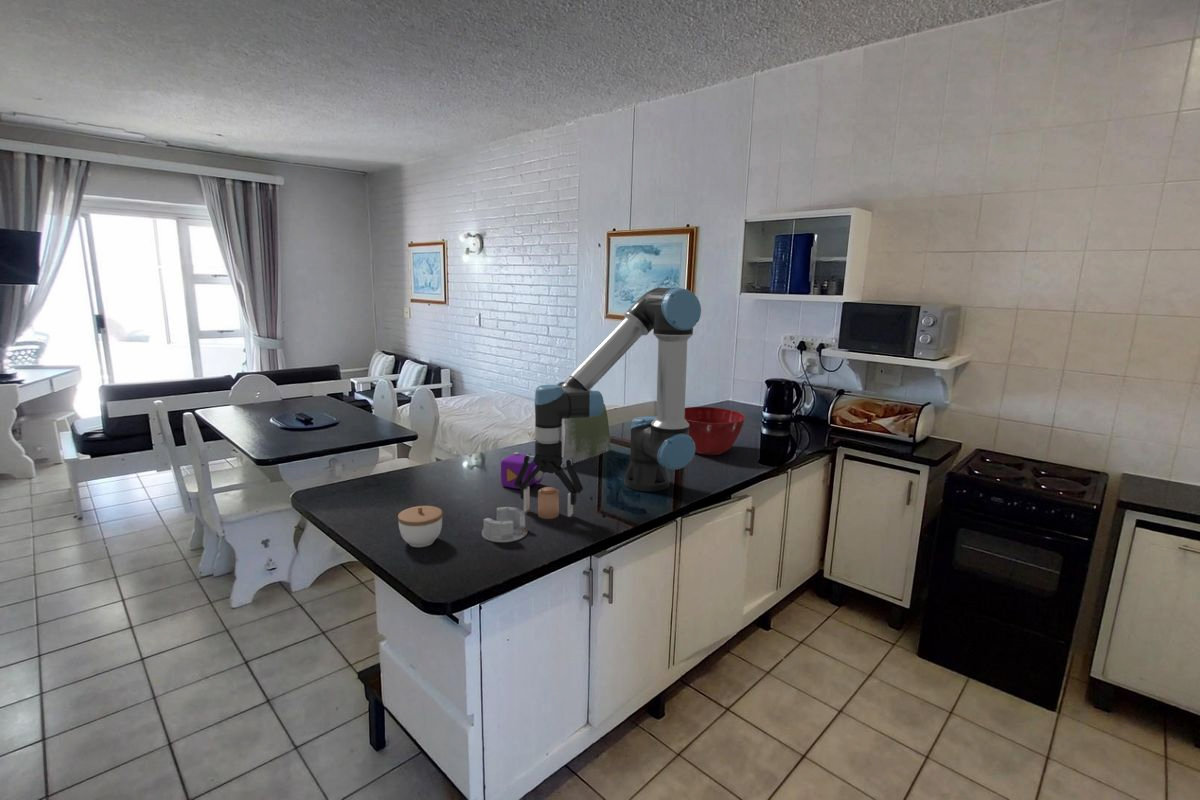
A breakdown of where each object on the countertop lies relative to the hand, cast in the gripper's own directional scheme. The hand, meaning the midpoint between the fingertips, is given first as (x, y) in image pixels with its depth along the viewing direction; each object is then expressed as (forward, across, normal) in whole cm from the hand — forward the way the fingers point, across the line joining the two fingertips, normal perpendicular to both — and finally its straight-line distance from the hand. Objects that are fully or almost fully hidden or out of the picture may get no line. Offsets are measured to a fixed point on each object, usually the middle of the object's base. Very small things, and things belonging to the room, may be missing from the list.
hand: (548, 512), depth 162 cm
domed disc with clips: (+1, +7, +15) cm, 17 cm away
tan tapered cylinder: (+1, 0, 0) cm, 1 cm away
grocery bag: (+1, +10, -58) cm, 59 cm away
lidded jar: (+1, +25, +26) cm, 36 cm away
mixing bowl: (+1, -40, -82) cm, 91 cm away
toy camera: (+1, +16, -21) cm, 26 cm away
